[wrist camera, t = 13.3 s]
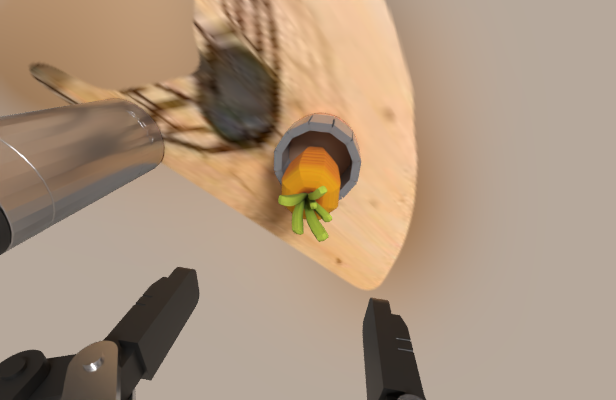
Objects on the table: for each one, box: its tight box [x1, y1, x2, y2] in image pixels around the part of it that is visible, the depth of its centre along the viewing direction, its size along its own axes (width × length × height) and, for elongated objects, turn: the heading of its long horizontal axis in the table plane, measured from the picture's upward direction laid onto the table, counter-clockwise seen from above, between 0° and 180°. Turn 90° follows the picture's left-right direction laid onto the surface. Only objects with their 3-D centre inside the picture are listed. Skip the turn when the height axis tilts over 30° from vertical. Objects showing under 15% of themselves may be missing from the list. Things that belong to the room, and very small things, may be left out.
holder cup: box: [274, 113, 361, 200], centre depth 28 cm, size 9×9×5 cm
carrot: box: [278, 147, 341, 242], centre depth 23 cm, size 5×5×15 cm
